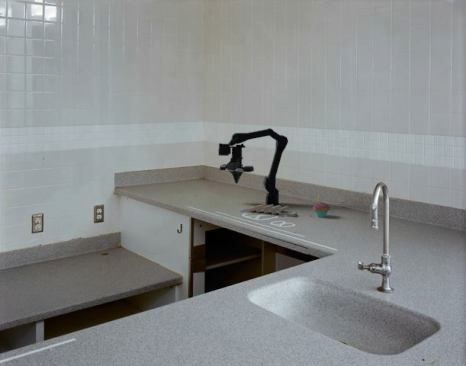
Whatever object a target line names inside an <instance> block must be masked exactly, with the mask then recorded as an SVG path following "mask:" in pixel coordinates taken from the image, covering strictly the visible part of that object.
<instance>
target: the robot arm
mask: <svg viewBox="0 0 466 366" xmlns="http://www.w3.org/2000/svg"><path fill="white" fill-rule="evenodd" d="M264 137H270V138H272V139H273V140H275V151H274V155H273V157H272V158H273V159H272V162H271V165H270V169H269V173H268V175H267V176H266V175H265V176H264V177H263V178H264V180H263V181H262V184H263V188H264V189H265V191H266V192H267V193H266V195H265V202H264V203H266V205H267V206H268V205H271V204H273V206H278V205H281V204H280V201H279V200H280V197H279V196H280V195H279V194H280V193H279V192H280V190H279V189H278V188H276V182H277V174H278V170H279V166H280V163H281V159H282V155H283V153H284V151H285V149H287V145H288V144H289V139H288V137H287V136H286V135H284V134H279V133H278V132H276V131H275V130H273V129H272V128H270V127H269V128H266V129H261V130H256V131H255V130H254V131H250V132H249V131H248V132H235V133H233V134H232V135H231V139H230V140H229V142H228V143H221V142H220V143H218V149H217V152H218V153H217V154H218V156H221V157H222V156H224V157H226V156H228V157H229V155H231V157H230V161H228V162H227V163H223V164H220V166H219V170H220V171H226V170H227V171H228V172H229V173H230V174H231V175H232V177H233V180H234V183H235V184H238V183H239V181H240V179H241V176H242V175H243V173H252V172H254V171H255V168H254V166H253V165H245V166H244V164H243V159H244V157H243V149H245V148H246V146H245V145H244V143H245V142H246V141H248V140H253V139H254V140H255V139H259V138H264Z"/></svg>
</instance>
